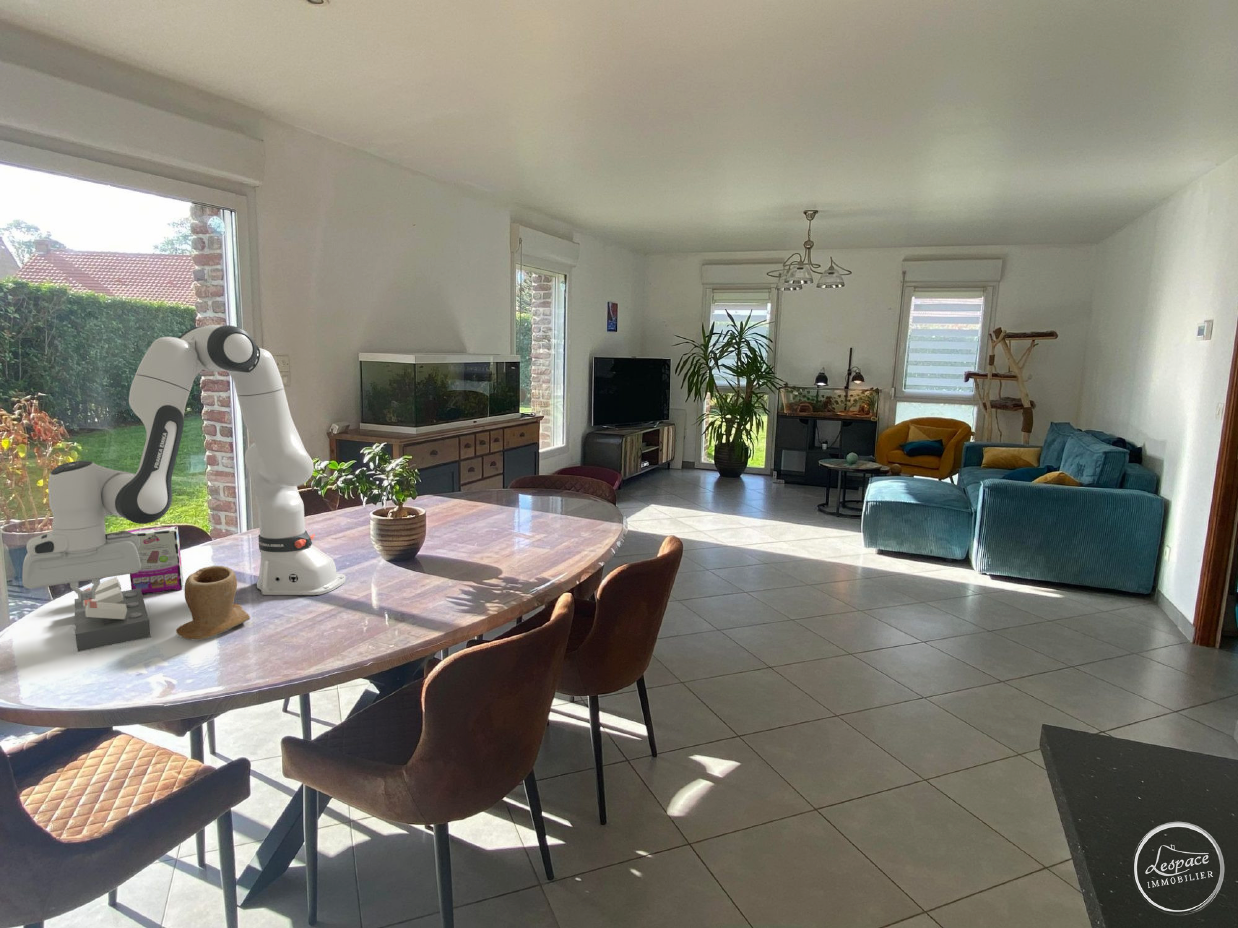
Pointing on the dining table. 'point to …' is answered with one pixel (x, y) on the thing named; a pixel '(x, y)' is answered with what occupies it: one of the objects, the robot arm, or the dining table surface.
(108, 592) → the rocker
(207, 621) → the stone cup
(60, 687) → the dining table surface
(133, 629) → the switch panel
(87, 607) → the rocker
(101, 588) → the rocker
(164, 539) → the candy bar box
